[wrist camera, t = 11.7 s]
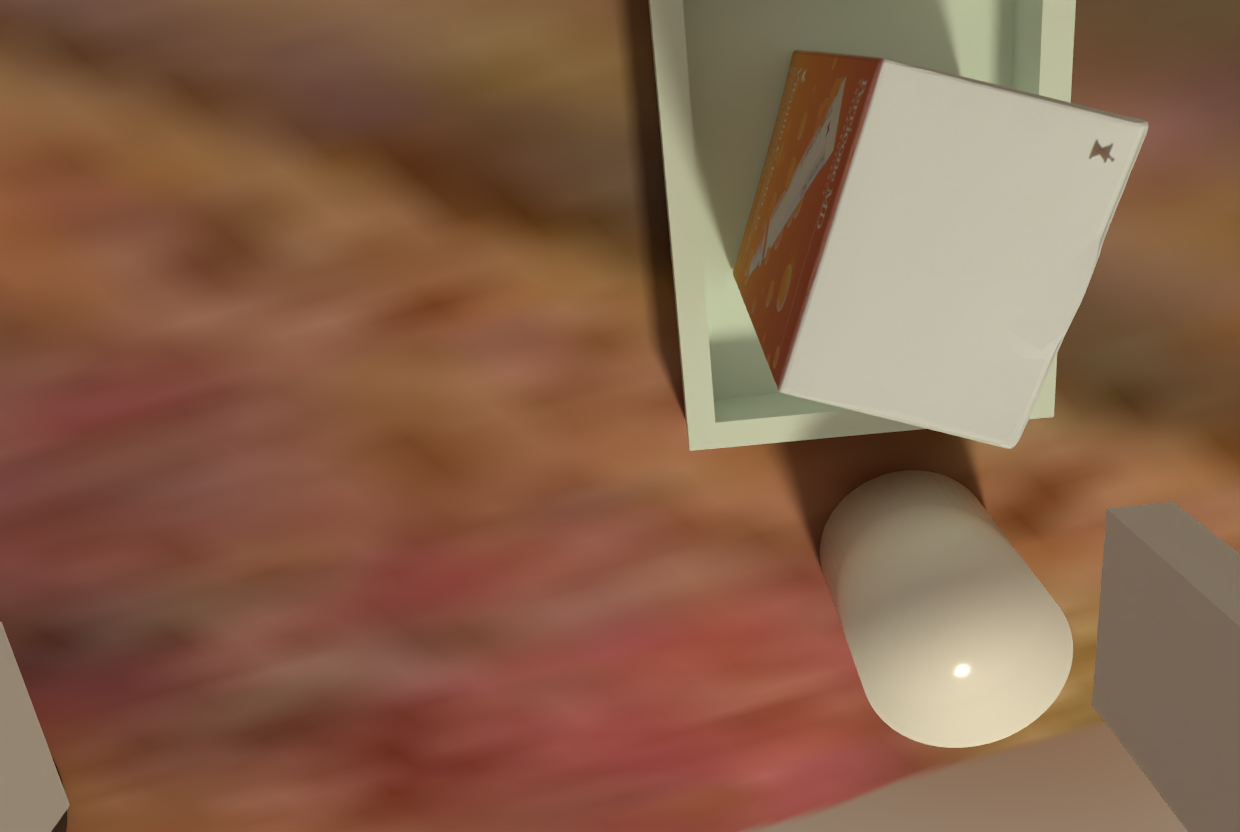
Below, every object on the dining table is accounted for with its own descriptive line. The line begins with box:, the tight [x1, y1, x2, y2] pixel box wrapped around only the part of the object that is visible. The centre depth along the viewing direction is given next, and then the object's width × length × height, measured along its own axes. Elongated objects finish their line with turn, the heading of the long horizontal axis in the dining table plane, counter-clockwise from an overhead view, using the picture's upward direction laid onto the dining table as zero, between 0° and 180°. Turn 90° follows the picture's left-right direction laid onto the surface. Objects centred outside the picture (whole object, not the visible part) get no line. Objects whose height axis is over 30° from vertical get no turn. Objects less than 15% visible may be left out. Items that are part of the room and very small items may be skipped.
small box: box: [733, 50, 1148, 449], centre depth 28 cm, size 8×6×13 cm
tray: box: [648, 0, 1076, 451], centre depth 34 cm, size 13×17×3 cm
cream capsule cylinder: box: [819, 470, 1073, 748], centre depth 36 cm, size 7×7×8 cm
